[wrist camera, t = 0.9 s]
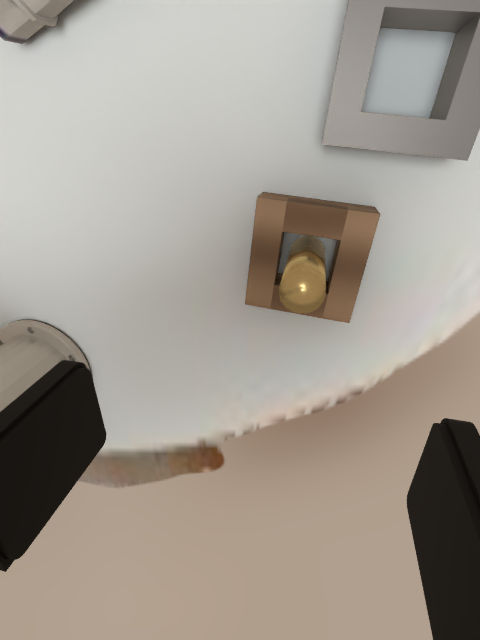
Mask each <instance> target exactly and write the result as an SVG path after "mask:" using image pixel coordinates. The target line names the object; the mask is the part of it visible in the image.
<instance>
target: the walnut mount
mask: <svg viewBox="0 0 480 640" xmlns="http://www.w3.org/2000/svg"><path fill="white" fill-rule="evenodd" d="M379 217H380V213H379V212H378V210H377V209H376V208H375V207H372V206H364V205H357V204H349V203H342V202H334V201H327V200H319V199H312V198H304V197H297V196H289V195H282V194H274V193H267V192H263V193H261V194H260V195H259V196H258V197H257V203H256V212H255V221H254V230H253V238H252V247H251V256H250V265H249V273H248V282H247V291H246V300H245V304H246V305H252V306H257V307H263V308H268V309H274V310H280V311H285V312H291V313H295V312H293V311H290V310H289V309H287V308H286V307H285V306H284V305H283V303H282V302H281V300H280V297H279V287H280V283H281V280H282V276H283V274H282V273H278V269H279V263H280V257H281V250H282V244H283V238H284V232H289V233H296V234H302V235H309V236H316V237H323V238H329V239H336V240H337V244H336V248H335V252H334V256H333V261H332V265H331V269H330V273H329V278H328V281H326V295H325V299H324V301H323V303H322V304H321V306H320V307H319V308H317V309H316V310H314V311H312V312H309V313H296V314H302V315H307V316H313V317H318V318H324V319H330V320H335V321H341V322H346V323H349V322H350V319H351V315H352V312H353V308H354V305H355V301H356V298H357V294H358V291H359V287H360V284H361V280H362V277H363V273H364V270H365V266H366V263H367V259H368V256H369V252H370V249H371V245H372V241H373V238H374V234H375V231H376V227H377V224H378V220H379Z"/></svg>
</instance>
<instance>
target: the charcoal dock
mask: <svg viewBox="0 0 480 640" xmlns="http://www.w3.org/2000/svg"><path fill="white" fill-rule="evenodd" d="M380 27H384V28H399V29H415V30H430V31H446V32H456V35H455V39H454V42H453V45H452V48H451V51H450V55H449V58H448V61H447V64H446V67H445V71H444V74H443V77H442V80H441V84H440V87H439V90H438V93H437V96H436V100H435V103H434V106H433V109H432V112H431V116H430V119H427V118H417V117H407V116H397V115H386V114H376V113H366V112H361V109H362V105H363V100H364V96H365V91H366V87H367V83H368V78H369V74H370V69H371V65H372V61H373V56H374V52H375V47H376V43H377V38H378V34H379V30H380ZM479 129H480V0H349V1H348V6H347V12H346V17H345V22H344V28H343V33H342V38H341V44H340V49H339V54H338V60H337V65H336V70H335V76H334V81H333V87H332V92H331V97H330V103H329V108H328V113H327V119H326V124H325V129H324V135H323V140H322V144H323V145H332V146H341V147H350V148H359V149H368V150H377V151H386V152H395V153H404V154H413V155H422V156H431V157H440V158H449V159H458V160H466V161H468V158H469V155H470V153H471V150H472V147H473V145H474V142H475V139H476V137H477V134H478V131H479Z"/></svg>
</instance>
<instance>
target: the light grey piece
mask: <svg viewBox="0 0 480 640" xmlns="http://www.w3.org/2000/svg"><path fill="white" fill-rule="evenodd" d="M73 1H74V0H0V37H1V38H2V39H3V40H5V41H10V42H15V43H20V44H22V43H23V42H25V41H26V40H27V39H28V38H29V37H31V36H32V35H33V34H34V33H36V32H37V31H38V30H39V29H41V28H42V27H43V26H44V25H47V26H51V27H54V26H55V25H56V24H57V20H58V16H59V13H60V12H61V11H62V10H63V9H64V8H66V7H67V6H68V5H69V4H70V3H71V2H73Z"/></svg>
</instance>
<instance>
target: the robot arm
mask: <svg viewBox="0 0 480 640" xmlns="http://www.w3.org/2000/svg"><path fill="white" fill-rule="evenodd" d="M105 440H106V431H105V427H104V423H103V419H102V415H101V411H100V407H99V403H98V399H97V395H96V391H95V387H94V383H93V379H92V375H91V372H90V368H89V366H88V363H87V361H86V359H85V357H84V355H83V354H82V352H81V351H80V350H79V348H78V347H77V346H76V345H75V344H74V343H73V342H72V341H71V340H70V339H69V338H68V337H67V336H65V335H64V334H63V333H62V332H60V331H58V330H57V329H55V328H53V327H52V326H49V325H47V324H44V323H42V322H38V321H34V320H19V321H15V322H12V323H10V324H8V325H7V326H5V327H4V328H2V329H1V330H0V570H2V571H5V572H6V571H7V569H8V568H9V567H10V565H11V564H12V562H13V561H14V560H15V559H18V558H20V557H21V556H22V555H23V554H24V553H25V552H26V550H27V549H28V548H29V546H30V545H31V544H32V542H33V541H34V539H35V538H36V537H37V535H38V534H39V533H40V531H41V530H42V529H43V527H44V526H45V524H46V523H47V522H48V520H49V519H50V518H51V516H52V515H53V514H54V512H55V511H56V509H57V508H58V507H59V505H60V504H61V503H62V501H63V500H64V498H65V497H66V496H67V494H68V493H69V492H70V490H71V489H72V487H73V486H74V485H75V483H76V482H77V481H78V479H79V478H80V477H81V475H82V474H83V473H84V471H85V470H86V468H87V467H88V466H89V464H90V463H91V462H92V460H93V459H94V458H95V456H96V455H97V453H98V452H99V451H100V449H101V448H102V447H103V445H104V443H105ZM407 508H408V514H409V519H410V524H411V529H412V534H413V539H414V544H415V549H416V554H417V560H418V565H419V570H420V575H421V580H422V585H423V590H424V595H425V600H426V605H427V610H428V615H429V620H430V625H431V630H432V636H433V640H480V435H479V433H478V431H477V429H476V427H475V426H474V424H473V423H471V422H466V421H459V420H453V419H447V418H445V419H443V420H442V421H441V423H440V424H439V423H434V424H433V426H432V428H431V431H430V434H429V436H428V439H427V442H426V445H425V447H424V450H423V453H422V456H421V458H420V461H419V464H418V467H417V469H416V473H415V475H414V478H413V480H412V483H411V486H410V489H409V491H408V495H407Z"/></svg>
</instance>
